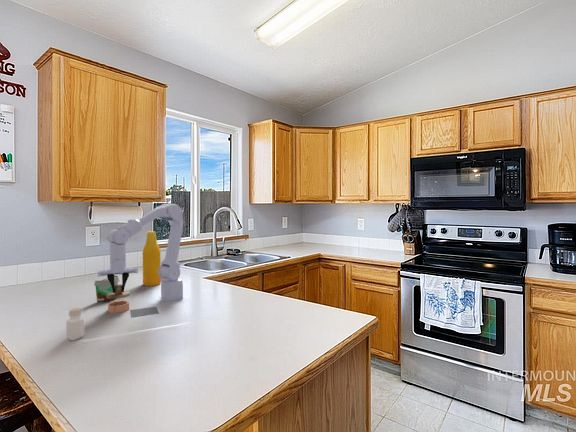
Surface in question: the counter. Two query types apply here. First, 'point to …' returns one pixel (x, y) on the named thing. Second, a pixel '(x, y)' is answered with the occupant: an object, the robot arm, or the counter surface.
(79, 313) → the salt shaker
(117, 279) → the food container
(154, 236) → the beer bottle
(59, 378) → the counter surface
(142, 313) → the mat
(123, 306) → the bowl
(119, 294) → the lid
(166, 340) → the counter surface
